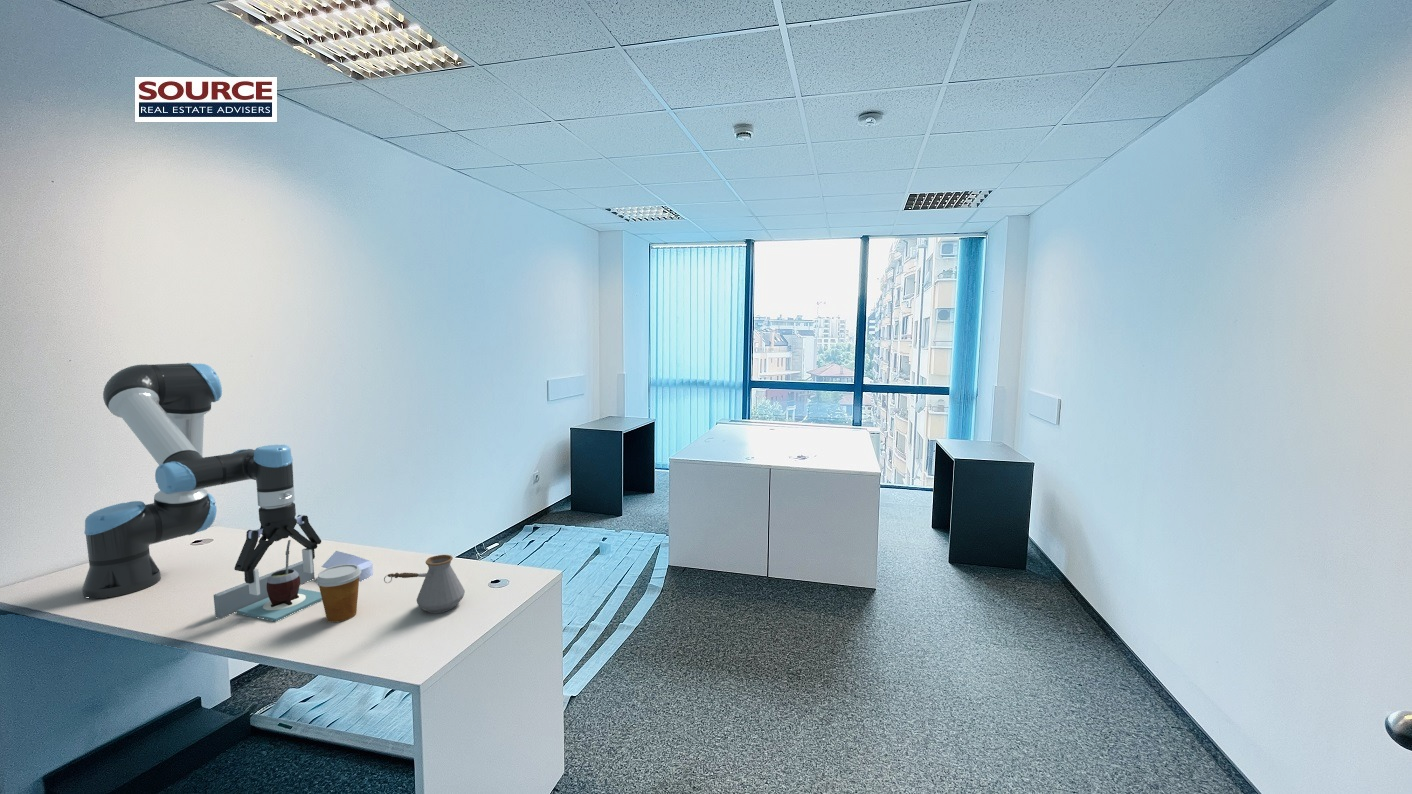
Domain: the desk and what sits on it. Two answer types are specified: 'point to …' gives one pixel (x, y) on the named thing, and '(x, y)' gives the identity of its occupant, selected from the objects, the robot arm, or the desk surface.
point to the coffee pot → (437, 585)
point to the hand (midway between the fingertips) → (282, 582)
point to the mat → (281, 606)
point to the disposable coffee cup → (339, 591)
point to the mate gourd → (283, 584)
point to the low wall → (241, 598)
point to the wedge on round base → (345, 558)
